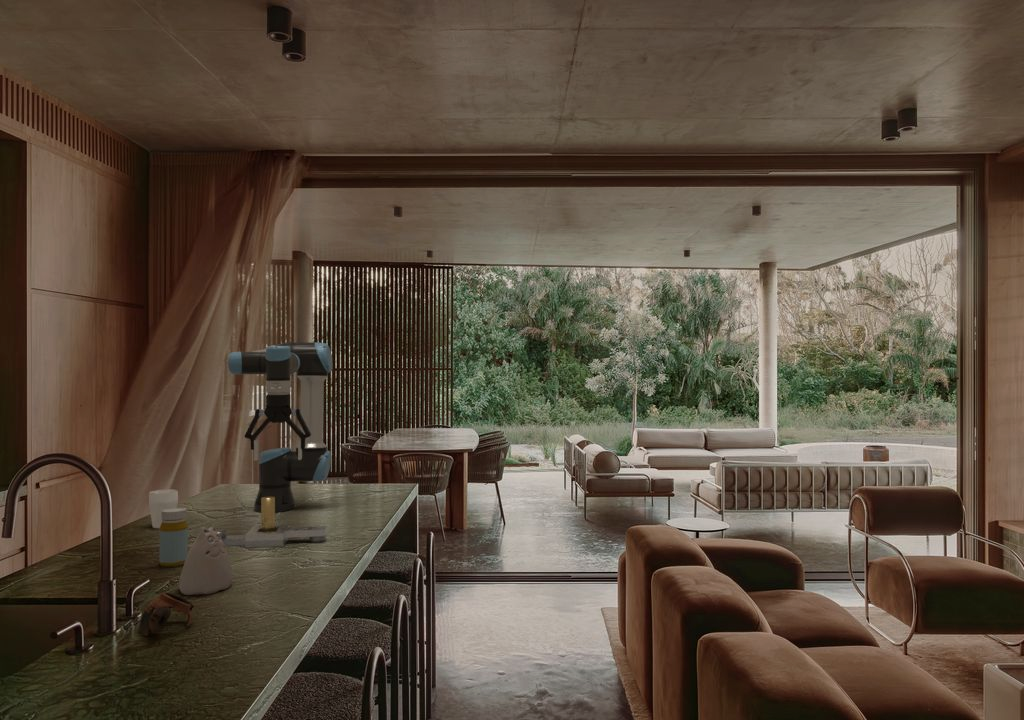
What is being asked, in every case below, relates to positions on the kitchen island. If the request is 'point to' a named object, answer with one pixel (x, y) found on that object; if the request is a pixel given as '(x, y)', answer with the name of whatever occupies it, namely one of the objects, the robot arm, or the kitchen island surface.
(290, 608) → the kitchen island surface
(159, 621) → the brown curved piece
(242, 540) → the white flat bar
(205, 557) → the sculpture
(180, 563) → the bottle
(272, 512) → the pin
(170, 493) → the cup
